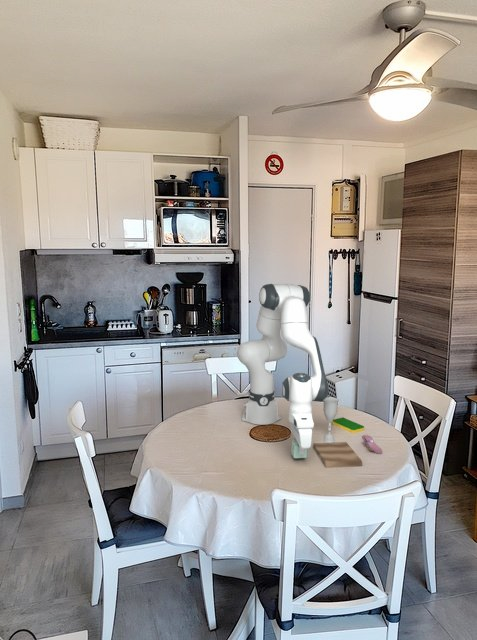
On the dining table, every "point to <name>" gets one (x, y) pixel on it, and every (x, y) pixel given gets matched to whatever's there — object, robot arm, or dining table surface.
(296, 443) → the sage cube
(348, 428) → the dish sponge
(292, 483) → the dining table surface
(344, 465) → the walnut board
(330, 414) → the chalice
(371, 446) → the video game controller
